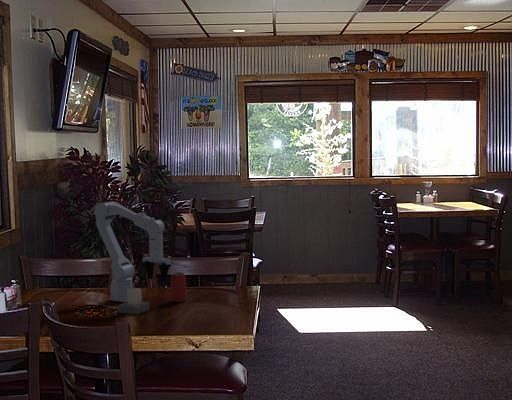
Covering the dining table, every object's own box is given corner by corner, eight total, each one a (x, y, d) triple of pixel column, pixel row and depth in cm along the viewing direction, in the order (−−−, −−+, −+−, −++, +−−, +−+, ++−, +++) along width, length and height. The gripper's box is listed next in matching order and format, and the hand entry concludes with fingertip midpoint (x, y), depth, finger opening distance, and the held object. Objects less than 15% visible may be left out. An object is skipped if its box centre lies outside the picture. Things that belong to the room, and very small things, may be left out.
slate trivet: (118, 312, 276) (118, 305, 276) (131, 307, 284) (131, 300, 284) (137, 314, 272) (136, 307, 272) (149, 309, 280) (149, 302, 280)
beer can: (183, 302, 292) (183, 275, 291) (169, 302, 294) (168, 274, 293) (188, 299, 299) (187, 272, 298) (173, 299, 300) (173, 272, 299)
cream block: (127, 304, 278) (127, 289, 277) (134, 302, 281) (134, 287, 281) (134, 305, 276) (134, 290, 275) (141, 303, 279) (141, 288, 278)
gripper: (137, 248, 293) (138, 279, 294) (162, 250, 285) (163, 282, 286) (148, 246, 299) (149, 277, 300) (173, 248, 290) (174, 280, 291)
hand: (156, 279), depth 293 cm, fingers open, 7 cm apart
